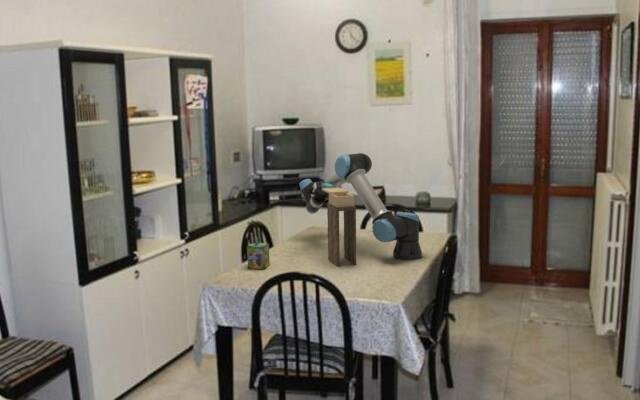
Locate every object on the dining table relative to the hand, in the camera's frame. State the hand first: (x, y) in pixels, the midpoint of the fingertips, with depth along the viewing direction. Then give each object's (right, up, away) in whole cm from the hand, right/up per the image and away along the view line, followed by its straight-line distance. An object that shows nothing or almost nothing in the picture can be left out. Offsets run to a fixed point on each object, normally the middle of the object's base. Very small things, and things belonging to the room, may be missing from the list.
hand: (327, 184), depth 336 cm
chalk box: (-35, -42, -20) cm, 58 cm away
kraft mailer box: (+6, -10, -19) cm, 23 cm away
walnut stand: (+7, -40, -14) cm, 43 cm away
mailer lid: (+2, -3, -5) cm, 6 cm away
